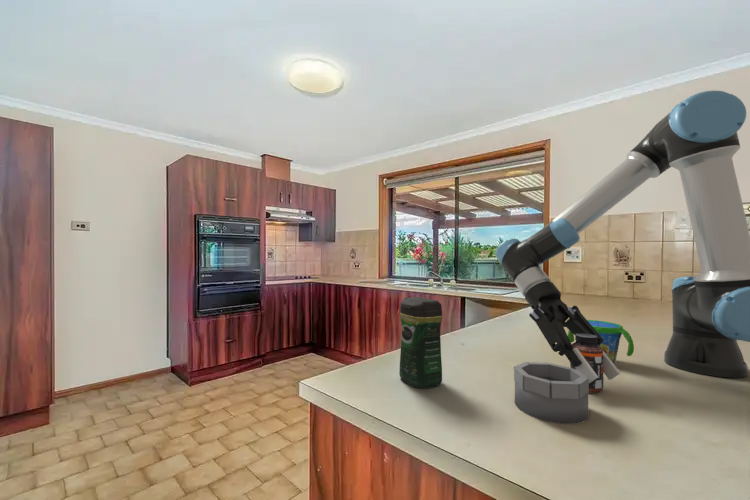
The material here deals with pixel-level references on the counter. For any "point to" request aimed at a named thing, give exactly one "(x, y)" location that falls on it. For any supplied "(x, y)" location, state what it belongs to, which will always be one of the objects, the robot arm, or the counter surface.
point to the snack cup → (609, 337)
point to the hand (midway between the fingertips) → (603, 378)
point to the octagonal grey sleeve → (551, 392)
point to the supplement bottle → (591, 358)
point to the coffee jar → (421, 342)
